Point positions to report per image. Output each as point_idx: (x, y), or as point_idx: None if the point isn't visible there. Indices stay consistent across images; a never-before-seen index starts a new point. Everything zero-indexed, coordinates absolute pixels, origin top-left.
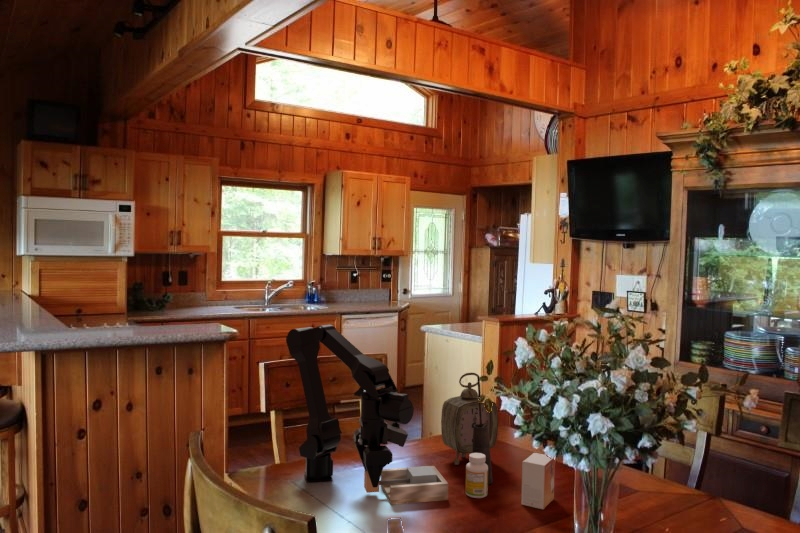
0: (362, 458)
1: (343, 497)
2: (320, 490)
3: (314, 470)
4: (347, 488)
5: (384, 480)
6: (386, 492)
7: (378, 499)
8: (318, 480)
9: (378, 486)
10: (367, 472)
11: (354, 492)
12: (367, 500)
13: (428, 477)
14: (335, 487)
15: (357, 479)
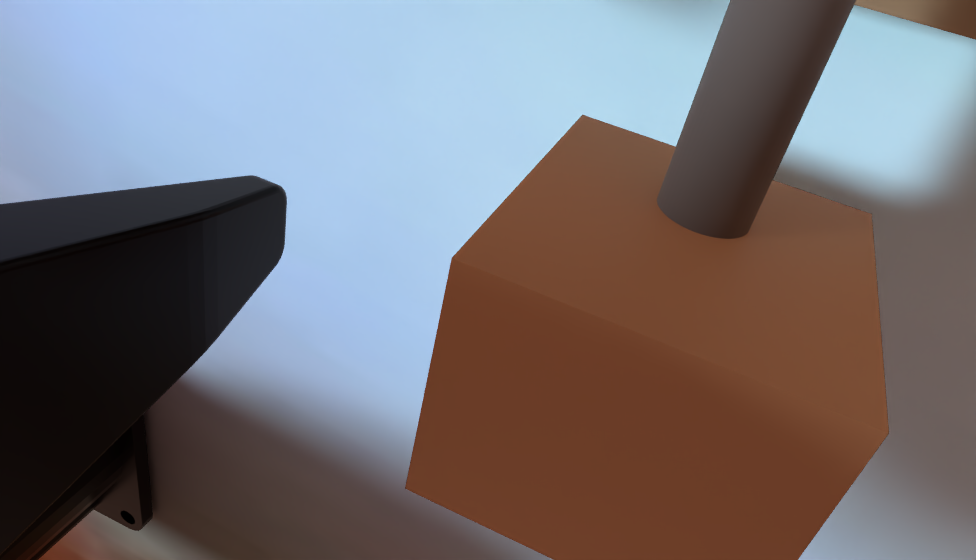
0: (20, 507)
1: None
2: (325, 536)
3: (47, 540)
4: (347, 333)
5: (772, 80)
6: (885, 12)
7: (914, 203)
8: (139, 459)
9: (864, 277)
10: (516, 502)
11: None
12: None
13: None
14: (291, 409)
15: (117, 89)
